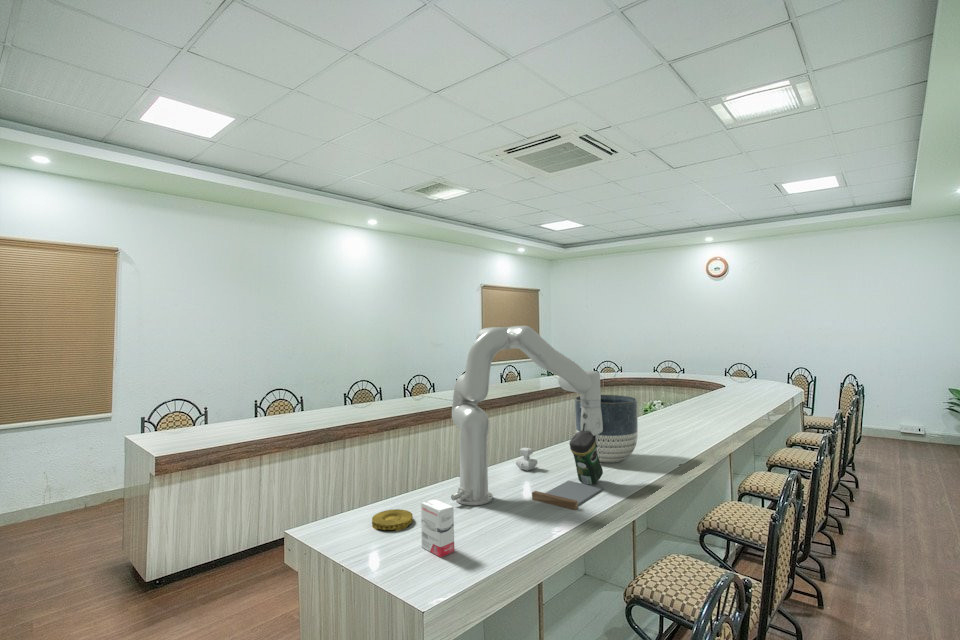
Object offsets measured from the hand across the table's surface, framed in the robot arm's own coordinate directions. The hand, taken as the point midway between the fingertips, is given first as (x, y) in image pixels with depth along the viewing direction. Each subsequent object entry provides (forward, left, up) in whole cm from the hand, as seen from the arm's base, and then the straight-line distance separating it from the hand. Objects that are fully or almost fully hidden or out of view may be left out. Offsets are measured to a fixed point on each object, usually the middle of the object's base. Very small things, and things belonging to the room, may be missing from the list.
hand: (591, 452), depth 175 cm
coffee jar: (-1, 0, -9) cm, 9 cm away
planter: (+31, +8, -11) cm, 34 cm away
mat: (-16, 0, -11) cm, 20 cm away
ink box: (-75, +8, -11) cm, 76 cm away
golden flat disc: (-71, +31, -12) cm, 78 cm away
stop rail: (-28, 0, -11) cm, 30 cm away
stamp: (-1, +29, -11) cm, 31 cm away
